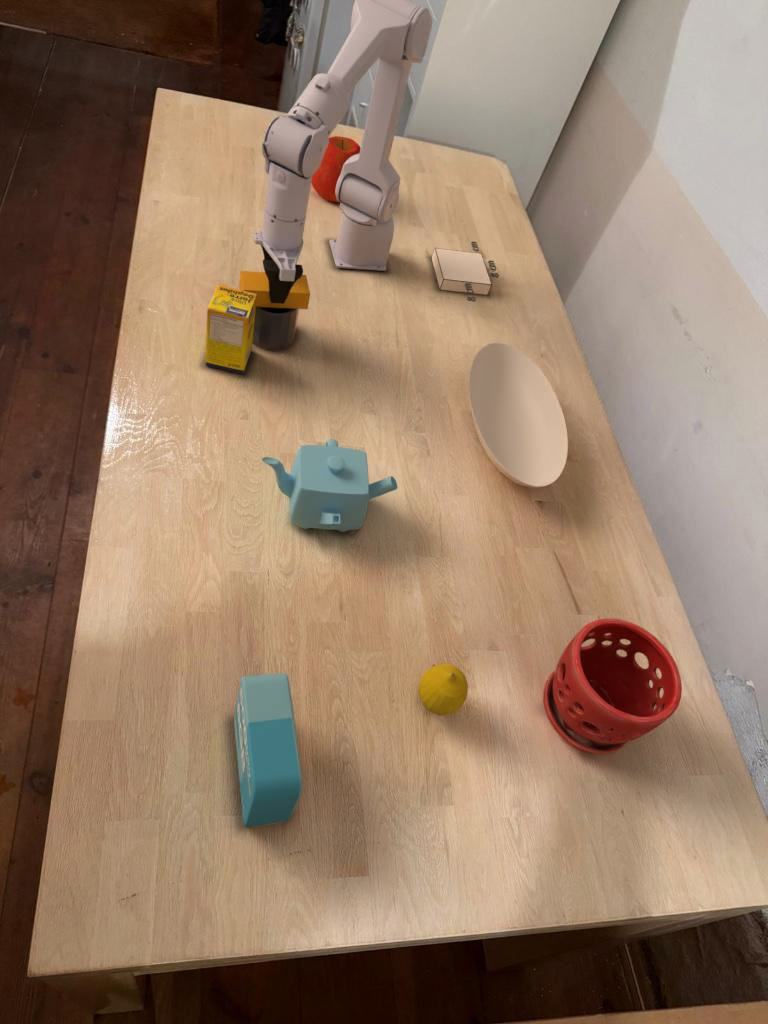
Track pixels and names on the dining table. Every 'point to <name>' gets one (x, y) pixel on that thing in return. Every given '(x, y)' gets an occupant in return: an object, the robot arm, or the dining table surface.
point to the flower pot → (610, 687)
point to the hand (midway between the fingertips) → (275, 290)
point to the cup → (274, 327)
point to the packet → (260, 286)
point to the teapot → (329, 486)
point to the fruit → (443, 689)
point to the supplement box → (230, 328)
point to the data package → (267, 750)
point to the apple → (333, 166)
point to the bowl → (517, 416)
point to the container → (462, 271)
